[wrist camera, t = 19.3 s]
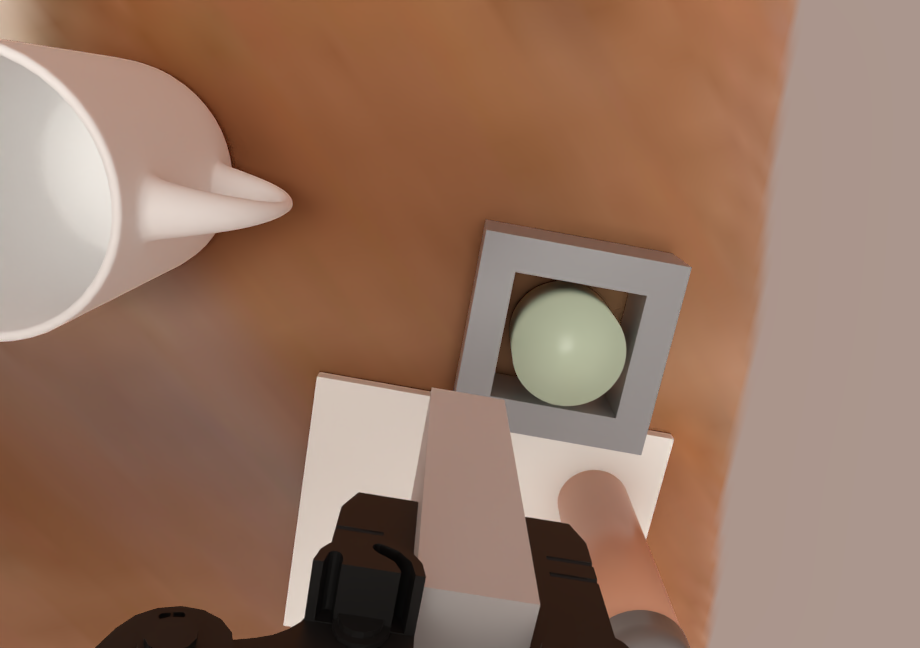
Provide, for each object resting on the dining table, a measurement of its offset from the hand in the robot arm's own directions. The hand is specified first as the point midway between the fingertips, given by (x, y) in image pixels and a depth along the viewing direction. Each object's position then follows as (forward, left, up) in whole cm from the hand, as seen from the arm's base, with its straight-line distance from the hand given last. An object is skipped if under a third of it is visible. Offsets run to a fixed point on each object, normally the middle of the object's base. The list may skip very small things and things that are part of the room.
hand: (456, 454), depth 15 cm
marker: (+7, -9, -17) cm, 20 cm away
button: (+4, -1, -17) cm, 17 cm away
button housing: (+4, -1, -17) cm, 18 cm away
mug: (-13, +2, -18) cm, 22 cm away
